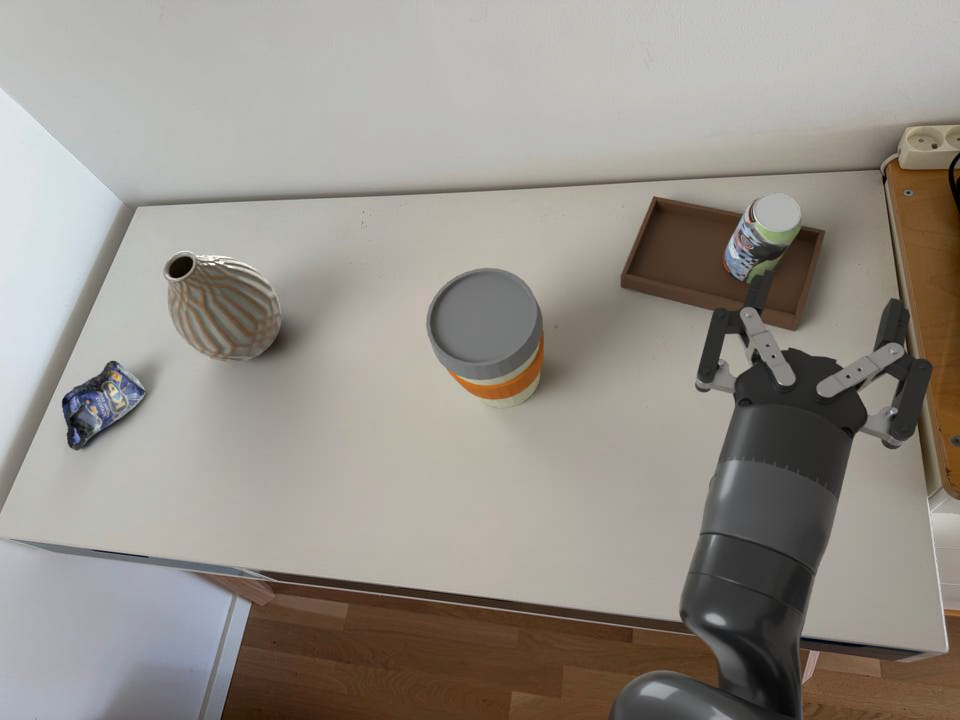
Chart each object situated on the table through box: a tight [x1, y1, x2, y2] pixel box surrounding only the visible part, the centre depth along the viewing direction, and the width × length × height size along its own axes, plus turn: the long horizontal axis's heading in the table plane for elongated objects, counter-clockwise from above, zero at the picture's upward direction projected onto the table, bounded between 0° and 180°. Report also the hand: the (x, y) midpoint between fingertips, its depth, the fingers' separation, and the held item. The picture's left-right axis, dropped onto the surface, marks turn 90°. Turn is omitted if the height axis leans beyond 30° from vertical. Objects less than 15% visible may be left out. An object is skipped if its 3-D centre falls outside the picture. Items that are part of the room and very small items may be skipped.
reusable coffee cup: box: [425, 267, 545, 409], centre depth 75 cm, size 12×13×15 cm
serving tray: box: [620, 195, 826, 332], centre depth 81 cm, size 21×13×3 cm, turn 65°
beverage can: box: [722, 192, 803, 283], centre depth 75 cm, size 6×7×12 cm
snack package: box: [61, 360, 146, 451], centre depth 90 cm, size 12×6×12 cm
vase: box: [162, 250, 283, 363], centre depth 85 cm, size 13×13×18 cm
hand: (828, 289), depth 48 cm, fingers open, 8 cm apart
